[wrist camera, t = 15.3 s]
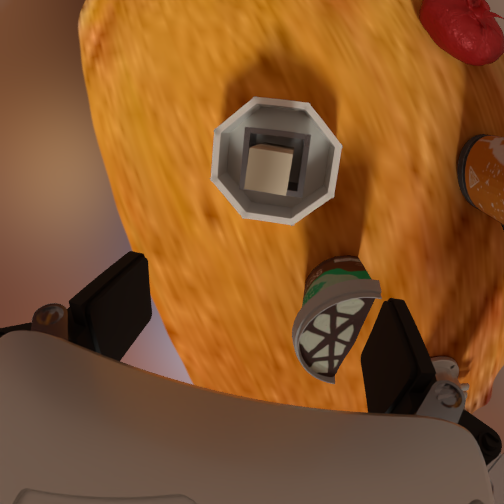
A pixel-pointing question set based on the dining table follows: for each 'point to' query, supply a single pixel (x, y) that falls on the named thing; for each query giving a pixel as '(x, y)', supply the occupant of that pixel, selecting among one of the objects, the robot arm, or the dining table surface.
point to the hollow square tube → (252, 132)
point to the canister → (483, 174)
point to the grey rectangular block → (269, 168)
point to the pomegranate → (464, 29)
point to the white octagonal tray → (286, 119)
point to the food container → (332, 314)
